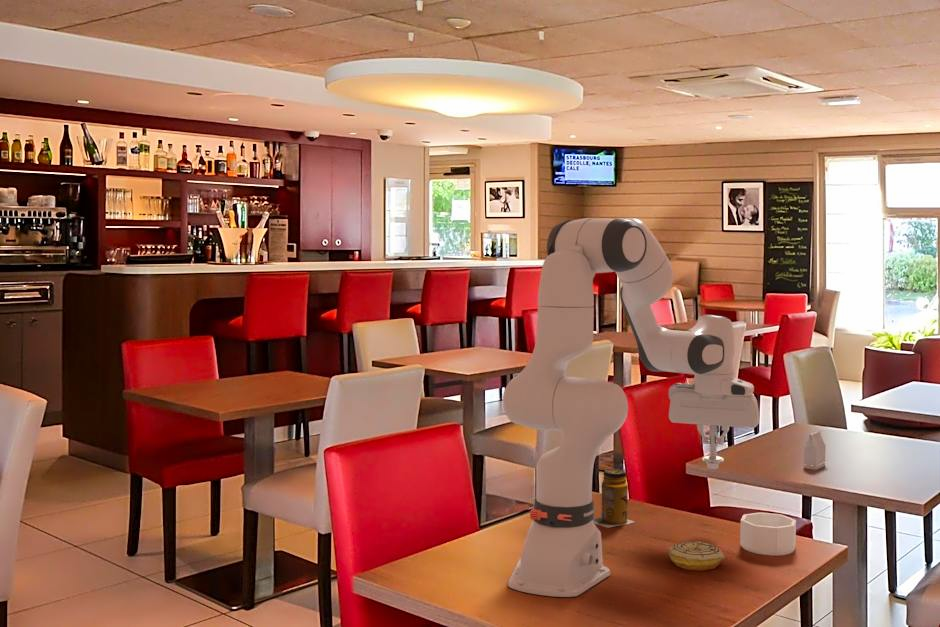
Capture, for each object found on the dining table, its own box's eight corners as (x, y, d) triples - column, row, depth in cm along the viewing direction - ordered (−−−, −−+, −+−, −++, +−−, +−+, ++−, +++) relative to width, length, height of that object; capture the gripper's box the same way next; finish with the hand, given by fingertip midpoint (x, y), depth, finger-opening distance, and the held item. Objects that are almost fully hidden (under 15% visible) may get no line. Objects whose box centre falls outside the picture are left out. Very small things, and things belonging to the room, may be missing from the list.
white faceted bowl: (792, 558, 198) (792, 529, 198) (737, 551, 202) (738, 524, 202) (796, 543, 208) (797, 516, 208) (745, 537, 212) (745, 510, 212)
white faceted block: (825, 465, 280) (825, 431, 279) (816, 469, 275) (816, 435, 274) (812, 463, 282) (813, 430, 282) (803, 468, 277) (804, 433, 277)
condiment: (635, 522, 224) (635, 472, 223) (608, 528, 220) (608, 477, 219) (614, 515, 230) (614, 466, 229) (587, 521, 226) (587, 471, 225)
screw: (697, 466, 224) (715, 464, 226) (710, 471, 219) (727, 469, 221) (698, 411, 223) (716, 410, 225) (710, 415, 218) (728, 413, 220)
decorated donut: (732, 563, 196) (732, 545, 196) (706, 577, 188) (706, 558, 188) (687, 552, 203) (687, 535, 203) (660, 565, 195) (660, 546, 195)
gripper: (666, 384, 222) (665, 443, 223) (757, 389, 214) (756, 450, 215) (671, 380, 228) (670, 438, 229) (760, 385, 220) (759, 445, 221)
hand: (712, 444), depth 222 cm, fingers closed on screw, 2 cm apart
